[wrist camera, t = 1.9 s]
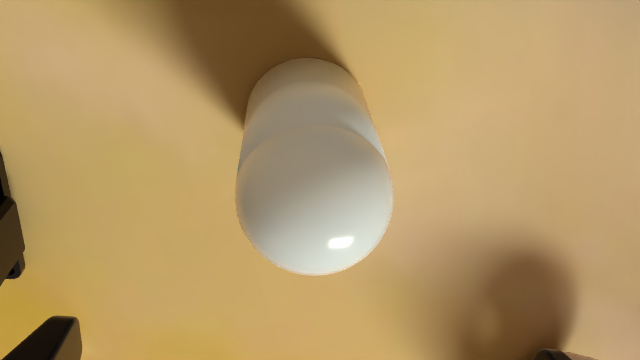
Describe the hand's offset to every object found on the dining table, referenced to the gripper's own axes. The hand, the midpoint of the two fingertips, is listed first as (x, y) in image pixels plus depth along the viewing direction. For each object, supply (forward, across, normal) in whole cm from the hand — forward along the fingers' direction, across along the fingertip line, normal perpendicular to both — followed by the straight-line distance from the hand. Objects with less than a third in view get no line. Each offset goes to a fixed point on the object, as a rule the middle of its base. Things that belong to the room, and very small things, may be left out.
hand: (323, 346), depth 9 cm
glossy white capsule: (+10, 0, 0) cm, 10 cm away
